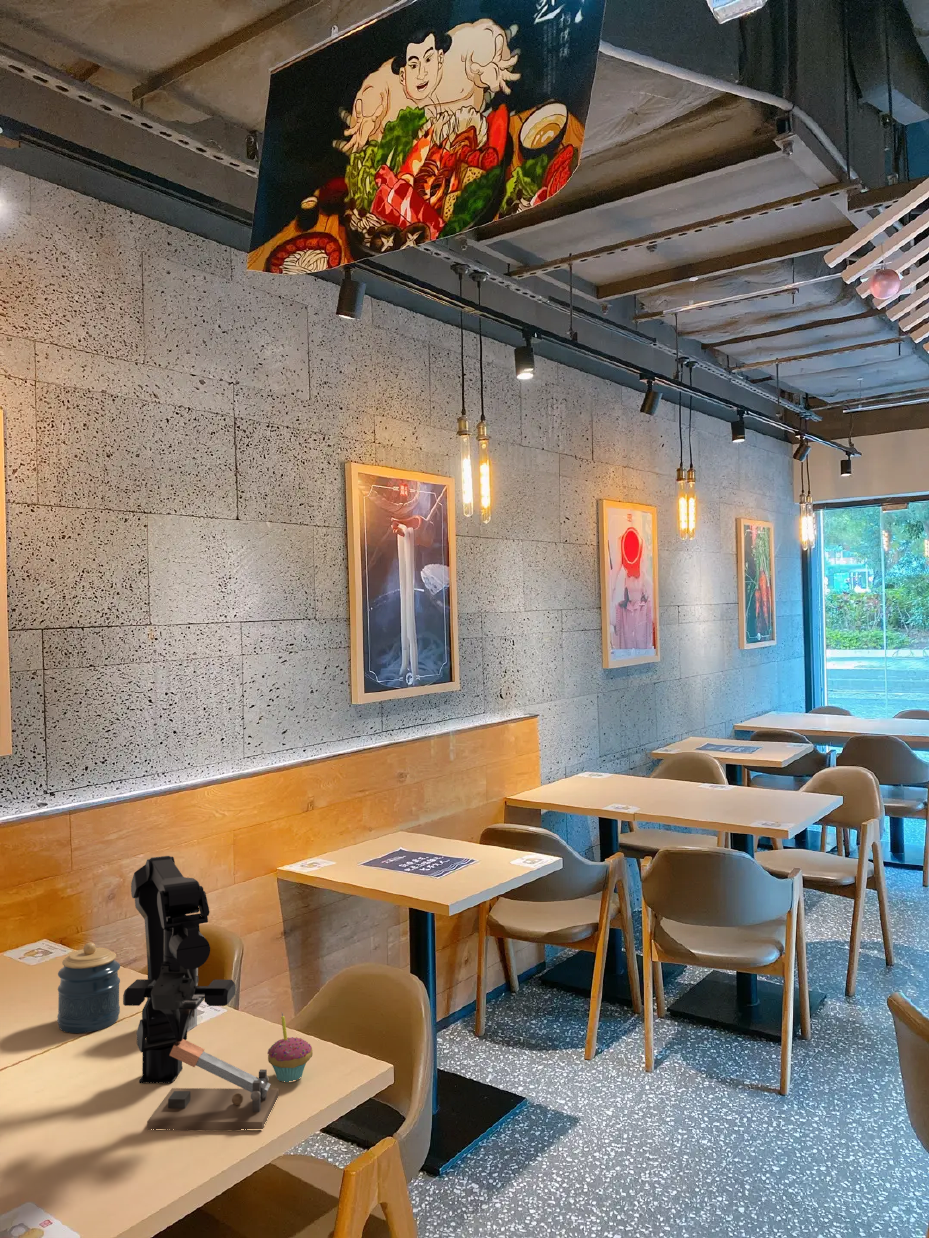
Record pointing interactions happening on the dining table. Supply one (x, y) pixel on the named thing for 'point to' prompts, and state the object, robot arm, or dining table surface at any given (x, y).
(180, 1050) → the lever
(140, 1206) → the dining table surface
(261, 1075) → the base
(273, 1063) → the cupcake
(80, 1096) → the dining table surface
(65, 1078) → the dining table surface
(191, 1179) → the dining table surface
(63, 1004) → the canister
